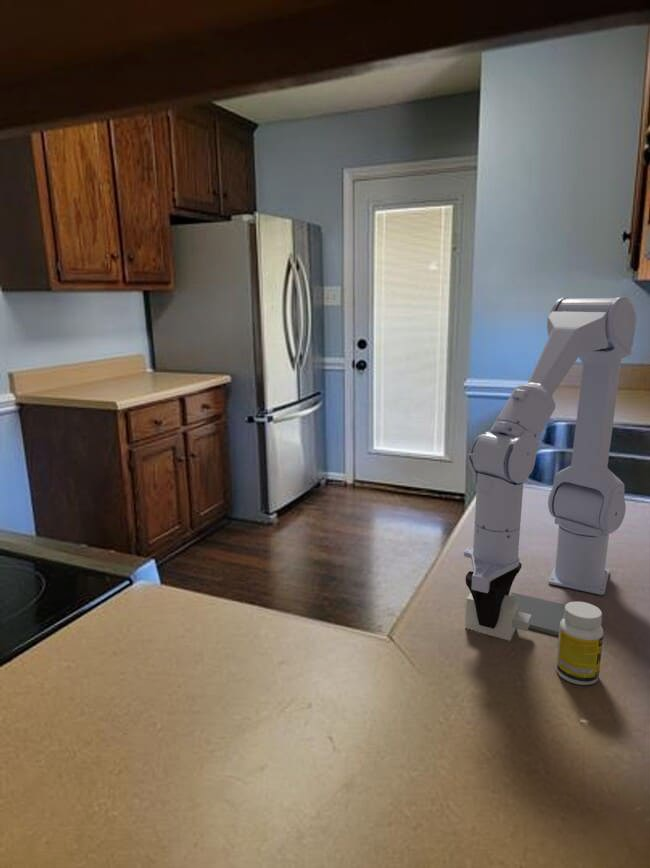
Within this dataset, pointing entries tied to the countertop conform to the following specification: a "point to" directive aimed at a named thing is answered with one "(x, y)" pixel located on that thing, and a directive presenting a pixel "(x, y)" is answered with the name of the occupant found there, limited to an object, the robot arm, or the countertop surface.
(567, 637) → the supplement bottle
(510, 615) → the block
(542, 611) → the coaster
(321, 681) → the countertop surface
